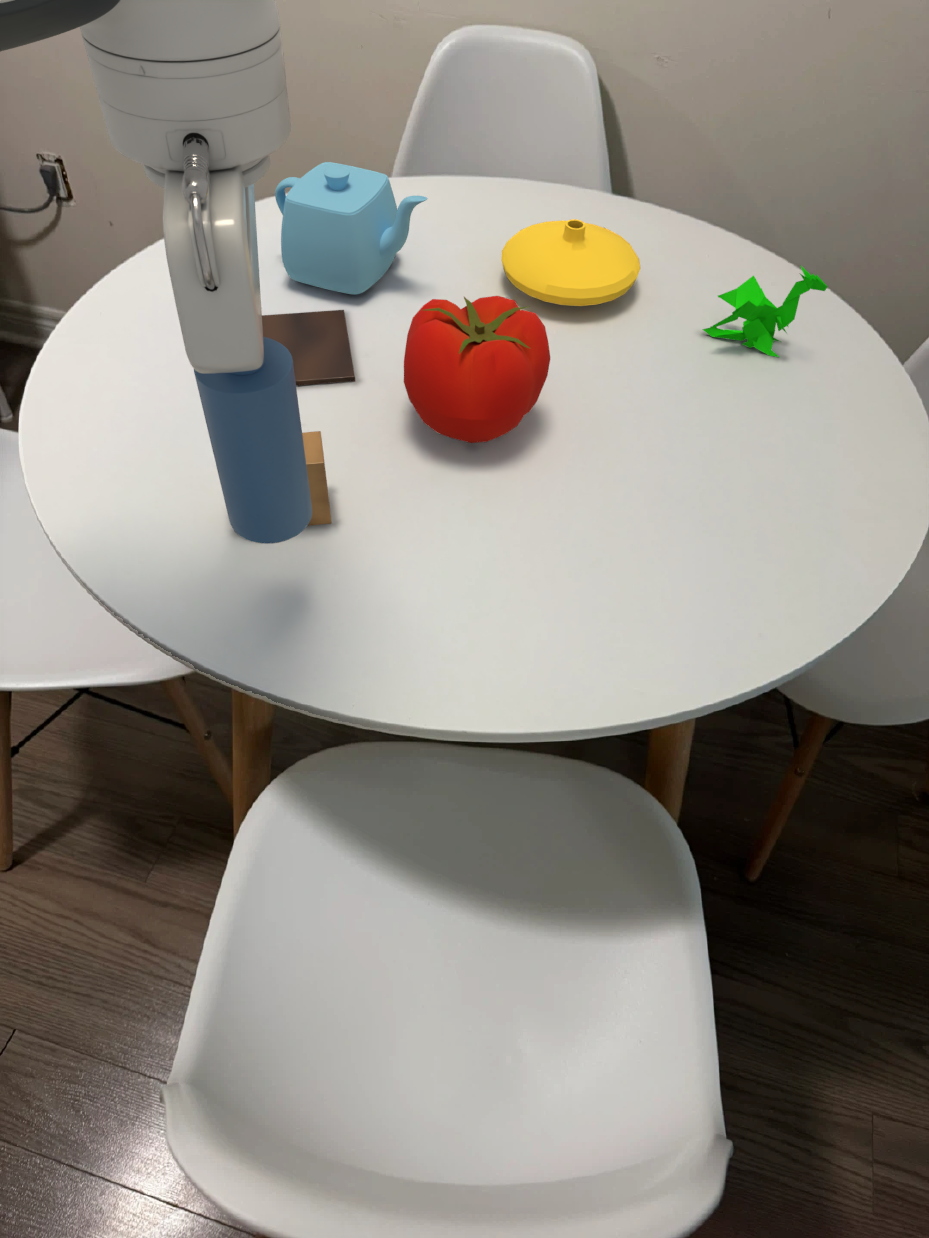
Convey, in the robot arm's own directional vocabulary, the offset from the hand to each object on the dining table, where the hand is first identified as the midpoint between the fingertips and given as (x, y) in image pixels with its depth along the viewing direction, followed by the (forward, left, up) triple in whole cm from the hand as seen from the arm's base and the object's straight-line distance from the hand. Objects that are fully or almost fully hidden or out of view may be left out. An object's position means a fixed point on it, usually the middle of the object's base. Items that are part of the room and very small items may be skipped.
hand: (240, 344), depth 53 cm
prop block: (0, +9, -23) cm, 25 cm away
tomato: (+19, +20, -24) cm, 36 cm away
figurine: (+51, +28, -24) cm, 63 cm away
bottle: (0, +4, -14) cm, 14 cm away
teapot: (+10, +47, -24) cm, 54 cm away
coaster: (+2, +33, -23) cm, 41 cm away
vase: (+34, +42, -24) cm, 59 cm away
